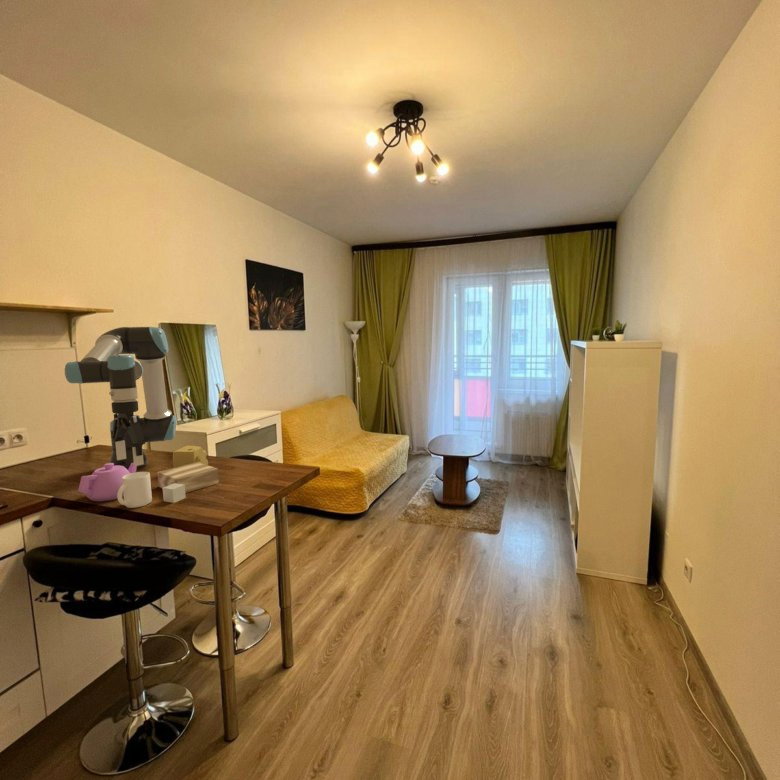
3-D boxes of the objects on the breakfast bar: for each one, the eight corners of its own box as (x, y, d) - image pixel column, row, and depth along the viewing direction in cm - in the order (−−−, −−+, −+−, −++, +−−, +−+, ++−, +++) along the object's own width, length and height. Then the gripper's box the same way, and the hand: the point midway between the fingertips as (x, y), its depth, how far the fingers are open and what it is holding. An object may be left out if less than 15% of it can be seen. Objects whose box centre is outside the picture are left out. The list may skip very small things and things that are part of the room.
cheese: (208, 466, 188) (207, 445, 187) (195, 474, 177) (193, 451, 176) (187, 466, 189) (185, 445, 188) (172, 473, 178) (170, 451, 177)
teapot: (97, 508, 141) (94, 474, 139) (66, 503, 146) (62, 470, 144) (153, 487, 161) (150, 457, 160) (124, 483, 166) (121, 454, 165)
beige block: (163, 501, 146) (162, 487, 146) (175, 496, 151) (174, 483, 150) (174, 503, 144) (172, 489, 144) (185, 498, 149) (184, 484, 149)
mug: (129, 513, 136) (126, 483, 134) (109, 511, 138) (106, 482, 136) (157, 500, 147) (155, 472, 146) (138, 498, 149) (136, 471, 148)
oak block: (158, 486, 161) (157, 472, 161) (197, 476, 174) (196, 462, 173) (178, 495, 152) (177, 479, 151) (218, 482, 165) (217, 468, 164)
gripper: (97, 399, 143) (103, 459, 145) (128, 404, 128) (134, 470, 130) (121, 397, 149) (126, 454, 151) (153, 401, 134) (158, 464, 136)
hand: (130, 462), depth 140 cm, fingers open, 13 cm apart
